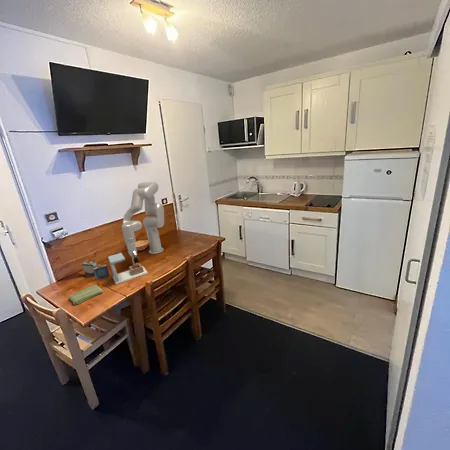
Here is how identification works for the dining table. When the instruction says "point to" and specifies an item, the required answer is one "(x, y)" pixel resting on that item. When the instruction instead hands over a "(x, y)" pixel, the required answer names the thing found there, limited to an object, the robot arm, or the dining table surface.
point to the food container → (89, 267)
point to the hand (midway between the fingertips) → (135, 260)
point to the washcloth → (85, 294)
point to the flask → (101, 272)
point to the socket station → (127, 275)
